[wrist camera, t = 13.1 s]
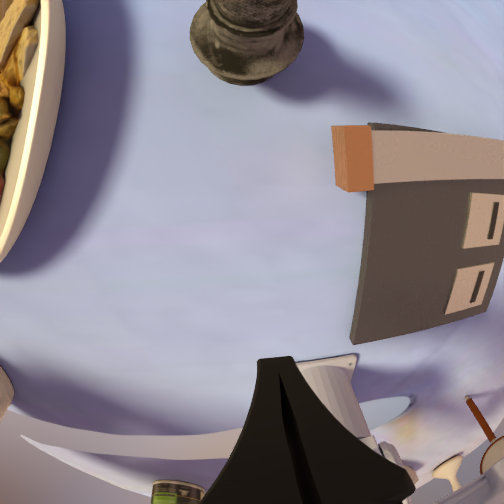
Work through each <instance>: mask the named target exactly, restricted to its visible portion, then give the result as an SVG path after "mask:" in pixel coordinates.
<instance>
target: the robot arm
mask: <svg viewBox="0 0 504 504" xmlns="http://www.w3.org/2000/svg"><path fill="white" fill-rule="evenodd" d="M356 361H357V357H356V355H354V354H352V355H346V356H341V357H335V358H328V359H322V360H315V361H308V362H301V363H295V361H294V359H293V357H291V356H285V357H275V358H264V359H259V360H258V361H257V379H256V385H255V390H254V394H253V398H252V402H251V406H250V409H249V412H248V415H247V418H246V421H245V424H244V427H243V429H242V432H241V434H240V436H239V439H238V441H237V443H236V445H235V447H234V449H233V451H232V453H231V455H230V457H229V459H228V461H227V462H226V464H225V466H224V467H223V469H222V471H221V472H220V474H219V476H218V477H217V479H216V480H215V482H214V483H213V485H212V486H211V487H210V489H209V490H208V491H207V493H206V494H205V495H204V497H203V498H202V499H201V501H200V503H199V504H412V503H411V498H410V495H411V494H412V493H414V491H415V489H416V488H415V486H414V483H413V481H412V479H411V477H410V476H409V474H408V472H407V471H406V469H405V468H404V465H403V463H402V460H401V458H400V456H399V454H398V452H397V450H396V448H395V447H394V446H393V445H392V444H389V443H387V442H381V443H379V444H378V445H377V443H376V440H375V437H374V435H372V436H371V434H370V432H369V429H368V426H367V424H366V421H365V419H364V416H363V414H362V411H361V409H360V406H359V403H358V401H357V398H356V396H355V393H354V391H353V389H352V386H351V384H350V383H351V380H352V376H353V372H354V369H355V365H356ZM378 447H379V448H378ZM432 504H504V457H503V458H501V459H500V460H499V461H497V462H496V463H495V464H494V465H492V466H491V467H490V468H489V469H487V470H486V471H485V472H484V473H483V474H482V475H480V476H479V477H477V478H475V479H474V480H473V481H471V482H469V483H468V484H466V485H464V486H463V487H461V488H459V489H458V490H456V491H454V492H453V493H451V494H449V495H447V496H445V497H443V498H442V499H440V500H438V501H436V502H434V503H432Z"/></svg>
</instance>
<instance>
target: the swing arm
mask: <svg viewBox="0 0 504 504" xmlns="http://www.w3.org/2000/svg"><path fill="white" fill-rule="evenodd" d="M331 129H332V139H333V151H334V164H335V179H336V186H338V187H340V188H341V189H343V190H345V191H346V192H358V191H369V190H374V184H378V183H392V182H408V181H428V180H455V179H504V141H503V140H497V139H491V138H484V137H477V136H468V135H459V134H449V133H437V132H422V131H399V130H371V126H368V125H346V126H331Z"/></svg>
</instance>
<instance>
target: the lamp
mask: <svg viewBox="0 0 504 504" xmlns="http://www.w3.org/2000/svg"><path fill="white" fill-rule="evenodd" d="M13 397H14V389H13V386H12V384H11V382H10V380H9V378H8V376H7V375H6V373H5V372H4V370H3V369H2V367H1V366H0V422H1V419H2V418H3V416H4V414H5V412H6V411H7V409H8V407H9V406H10V404H11V401H12V399H13Z"/></svg>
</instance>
